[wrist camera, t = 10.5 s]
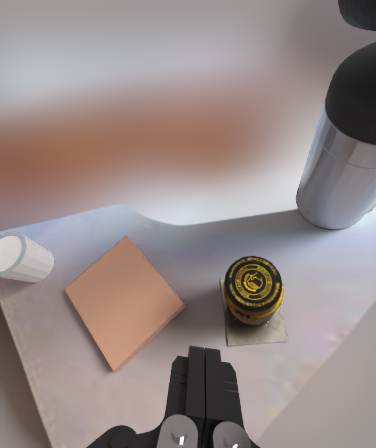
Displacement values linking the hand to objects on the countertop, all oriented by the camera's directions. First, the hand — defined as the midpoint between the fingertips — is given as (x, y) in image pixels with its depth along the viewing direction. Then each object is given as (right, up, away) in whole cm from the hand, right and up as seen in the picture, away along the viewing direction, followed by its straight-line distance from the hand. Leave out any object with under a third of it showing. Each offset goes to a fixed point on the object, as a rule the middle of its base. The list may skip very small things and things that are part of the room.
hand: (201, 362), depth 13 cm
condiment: (+8, -4, +22) cm, 24 cm away
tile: (-5, -8, +22) cm, 24 cm away
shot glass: (-26, 0, +32) cm, 41 cm away
